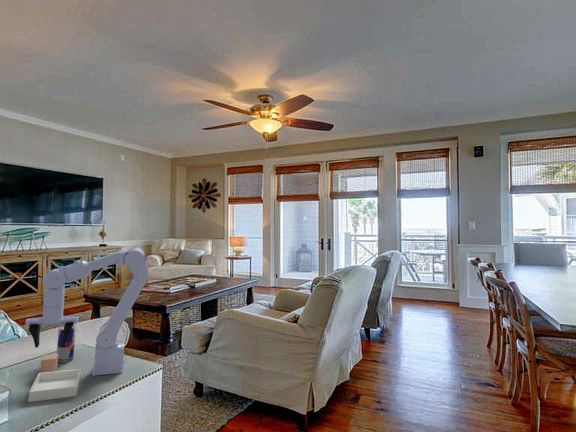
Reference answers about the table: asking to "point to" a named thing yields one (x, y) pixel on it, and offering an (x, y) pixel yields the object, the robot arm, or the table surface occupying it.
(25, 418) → the table surface
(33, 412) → the table surface
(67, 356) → the energy drink
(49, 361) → the block
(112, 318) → the robot arm
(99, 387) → the table surface
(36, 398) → the tray
